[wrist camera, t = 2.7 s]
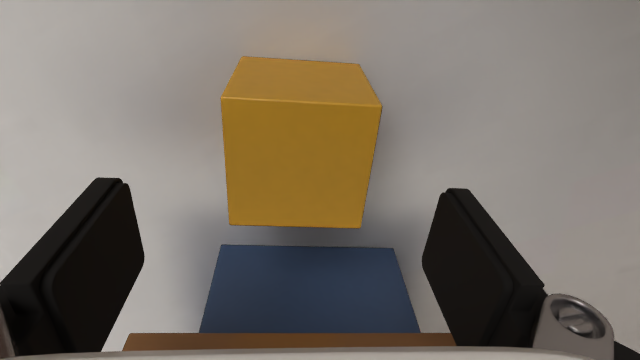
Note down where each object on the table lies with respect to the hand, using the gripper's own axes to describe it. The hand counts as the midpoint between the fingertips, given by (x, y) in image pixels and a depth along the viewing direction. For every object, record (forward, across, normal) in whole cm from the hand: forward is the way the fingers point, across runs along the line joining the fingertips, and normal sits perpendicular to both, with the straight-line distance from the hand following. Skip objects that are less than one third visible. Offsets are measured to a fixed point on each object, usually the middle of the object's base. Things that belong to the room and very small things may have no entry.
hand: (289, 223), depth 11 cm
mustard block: (+7, 0, -1) cm, 7 cm away
